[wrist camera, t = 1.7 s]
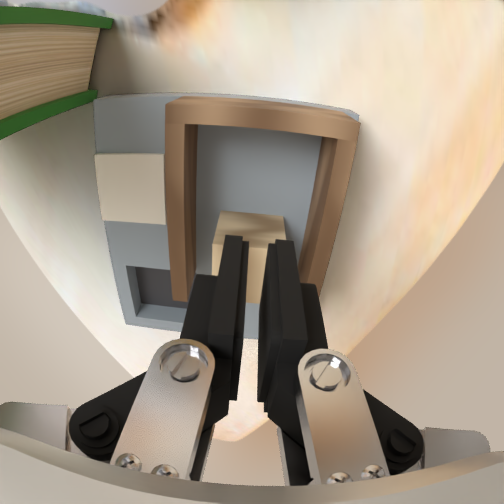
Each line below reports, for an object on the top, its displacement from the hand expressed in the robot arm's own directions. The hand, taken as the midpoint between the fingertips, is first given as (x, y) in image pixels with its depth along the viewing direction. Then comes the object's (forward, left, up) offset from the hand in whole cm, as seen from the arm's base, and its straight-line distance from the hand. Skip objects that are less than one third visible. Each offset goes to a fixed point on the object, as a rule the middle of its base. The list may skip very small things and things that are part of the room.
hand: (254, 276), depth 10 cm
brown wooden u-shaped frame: (0, +4, -15) cm, 15 cm away
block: (0, +8, -15) cm, 17 cm away
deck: (+3, +8, -17) cm, 19 cm away
